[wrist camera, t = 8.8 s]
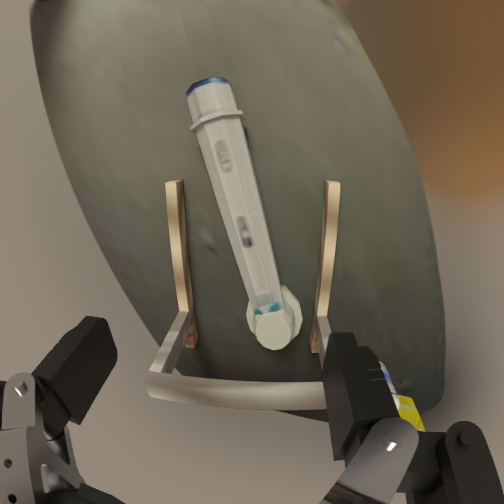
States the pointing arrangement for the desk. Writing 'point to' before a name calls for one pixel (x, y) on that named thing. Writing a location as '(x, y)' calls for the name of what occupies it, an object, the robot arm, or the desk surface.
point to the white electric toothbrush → (242, 210)
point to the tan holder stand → (185, 332)
